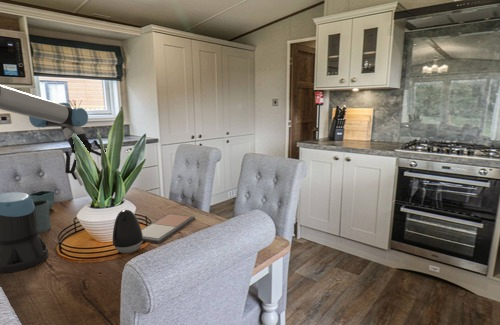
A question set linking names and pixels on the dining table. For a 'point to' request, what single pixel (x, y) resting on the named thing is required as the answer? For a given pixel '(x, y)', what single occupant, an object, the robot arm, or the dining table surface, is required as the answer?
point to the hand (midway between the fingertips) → (97, 178)
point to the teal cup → (42, 215)
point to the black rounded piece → (127, 232)
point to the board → (165, 227)
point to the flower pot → (44, 197)
